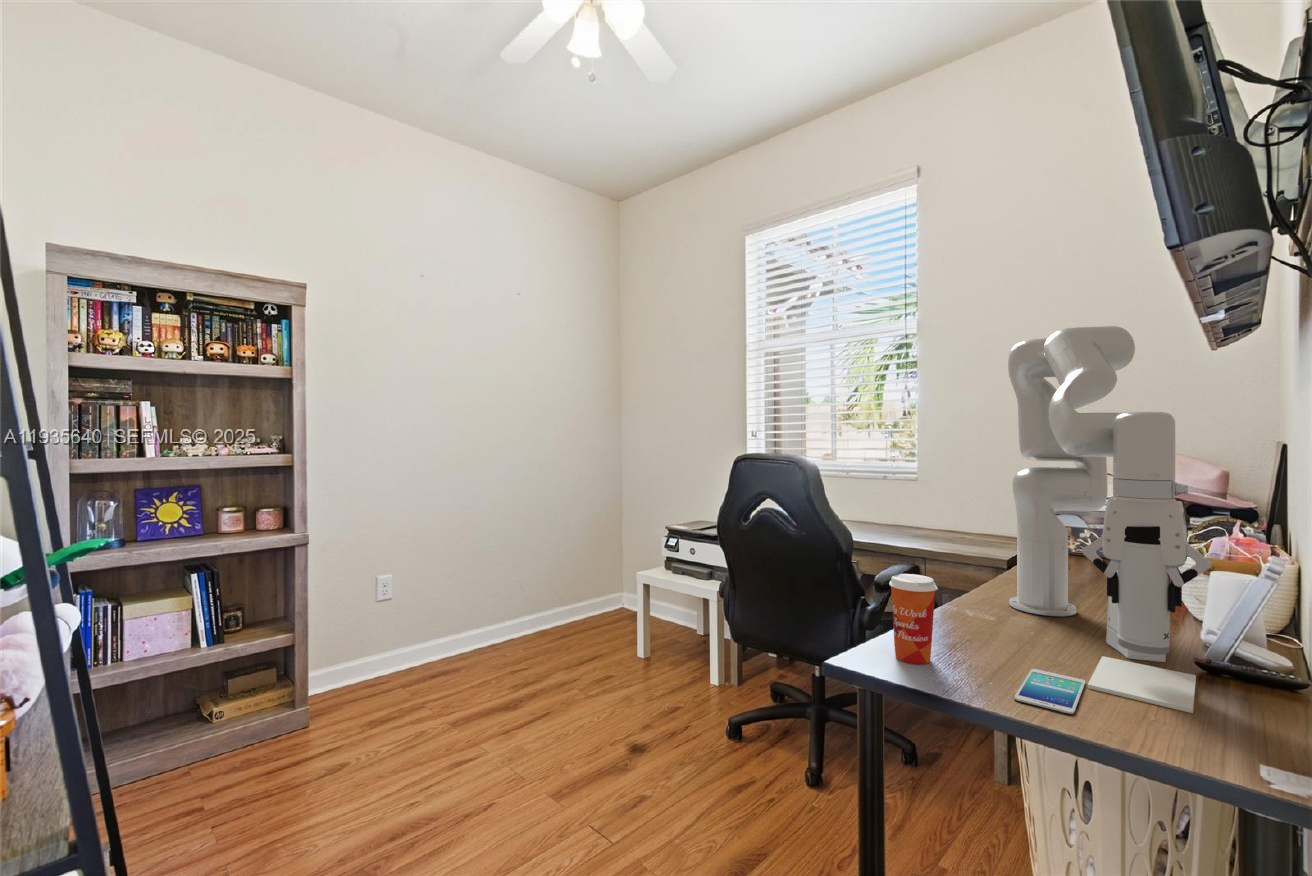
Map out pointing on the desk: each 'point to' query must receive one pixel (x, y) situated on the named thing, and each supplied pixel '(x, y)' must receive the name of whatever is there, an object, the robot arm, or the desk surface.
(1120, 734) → the desk surface
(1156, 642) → the travel mug
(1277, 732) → the desk surface
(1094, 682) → the off-white mat
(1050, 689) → the smartphone
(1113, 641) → the skincare box
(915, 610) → the paper cup
